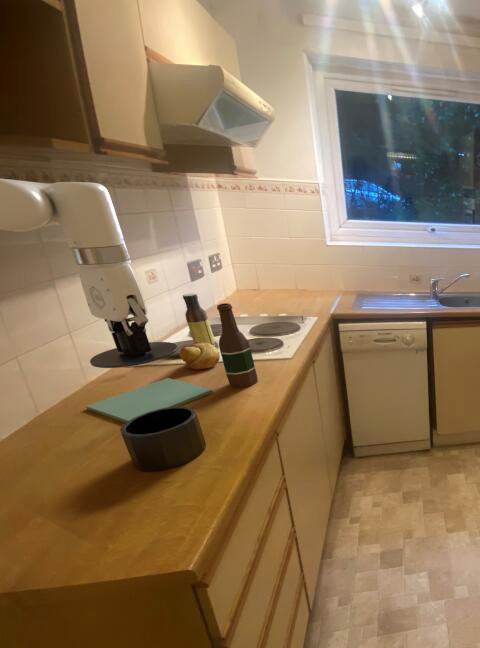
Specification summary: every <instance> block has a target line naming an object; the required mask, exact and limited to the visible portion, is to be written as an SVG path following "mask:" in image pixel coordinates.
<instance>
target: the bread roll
mask: <svg viewBox="0 0 480 648" xmlns="http://www.w3.org/2000/svg"><path fill="white" fill-rule="evenodd" d="M178 355H179V357H180V359H181V360H182V362H184V363H185V364H186V366H187V368H189V369H191V370H206V369H210V368H213V367H215V366H216V365H217V364H218V363H219V361H220V358H221V357H220V356H221V354H220V351H219V349H218V348H217V346H216V347H215V346H214V345H211V344H209V343H197V344H194V343H193V344H192V345H190V346H184V347H182V348H181V349H180V350H179V351H178Z"/></svg>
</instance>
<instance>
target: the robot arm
mask: <svg viewBox="0 0 480 648" xmlns="http://www.w3.org/2000/svg"><path fill="white" fill-rule="evenodd" d="M58 225H60V226H61V229H62V231H63V234H64V236H65V239H66V242H67V244H68V247H69V250H70V253H71V255H72V258H73V260H74V263H75V266H76V268H78V274H79V279H80V284H81V286H82V290H83V294H84V296H85V299H86V303H87V306H88V309H89V312H90V313H91V315H92V316H93V317H95V318H99V319H103V320H104V322H106V324H107V328H108V330H109V332H110V334H111V336H112V339H113V342H114V344H115V348H117V350H118V351H119V352H123V351H122V349H121V346H120V343H119V340H118V338H117V335H116V332H117V331H119V330H122V329H125V331H126V333H127V335H126V336H125V338H126V341H127V344H128V346H129V349H130V352H131V354H132V355H134V356H135V355H139V354H143V353H146V352H150V351H151V347H150V344H149V342H150V340H149V338H148V335H147V329H146V326H147V323H148V322H149V319H148V317H147V314H148V309H147V305H146V302H145V299H144V296H143V293H142V290H141V288H140V287H141V286H140V285H139V283H138V280H137V278H136V276H135V273H134V271H133V269H132V267H131V263H132V260H131V257H130V253H129V251H128V248H127V243H126V242H125V238H124V234H123V232H122V229H121V226H120V222H119V220H118V217H117V213H116V210H115V206H114V204H113V201H112V197H111V195H110V193H109V191H108V189H107V187H105V186H104V185H103V184H101V183H99V182H91V181H90V182H89V181H87V182H86V181H58V182H52V183H48V182H47V183H46V182H36V181H27V180H20V179H19V180H18V179H8V178H0V230H1V231H9V232H19V233H20V232H21V233H23V232H29V231H34V230H37V229H39V228H44V227H48V226H49V227H51V226H58ZM130 315H131V317H129V316H130Z"/></svg>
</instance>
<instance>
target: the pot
mask: <svg viewBox="0 0 480 648" xmlns="http://www.w3.org/2000/svg"><path fill="white" fill-rule="evenodd" d="M201 426H202V425H201V423H200V420H199V417H198V414H197V412H196V409H195V408H192V407H189V406H179V407H169V408H162V409H158V410H154V411H150V412H147V413H145V414H142V415H140V416H137V417H135V418H133V419H131V420H129V421H128V422H126V423H125V422H124V424H123V425H122V426H121V427H120V429H119V430H120V434H121V437H122V440H123V442H124V444H125V448H126V450H127V452H128V454H129V457H130V459H131V462H132V465H133V467H134V469H136V470H137V471H139V472H145V473H157V472H162V471H167V470H171V469H175V468H178V467H180V466H183V465H186V464H188V463H190V462H192V461H194V460H195V459H197V458H198V457H200V456H201V455H202V454H203V453H204V452H205V450H206V448H207V443H206V440H205V436H204V434H203V433H204V432H203V430H202V427H201Z"/></svg>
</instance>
